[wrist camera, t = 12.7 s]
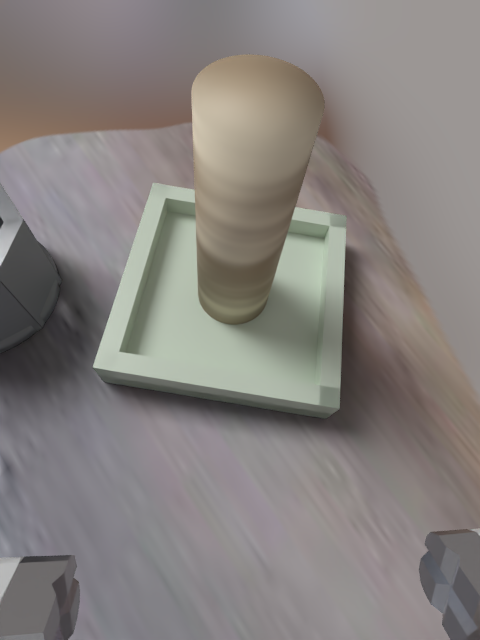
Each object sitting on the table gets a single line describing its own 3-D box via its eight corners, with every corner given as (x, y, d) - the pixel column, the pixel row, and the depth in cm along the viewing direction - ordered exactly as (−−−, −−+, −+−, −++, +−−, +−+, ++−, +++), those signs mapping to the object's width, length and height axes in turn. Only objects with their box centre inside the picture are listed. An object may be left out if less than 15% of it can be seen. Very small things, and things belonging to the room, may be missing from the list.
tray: (325, 419, 21) (339, 408, 19) (104, 381, 21) (92, 367, 19) (334, 239, 26) (346, 215, 24) (157, 209, 26) (153, 182, 24)
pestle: (263, 329, 22) (320, 153, 11) (191, 318, 22) (178, 129, 11) (271, 269, 23) (327, 66, 13) (205, 258, 23) (205, 45, 13)
